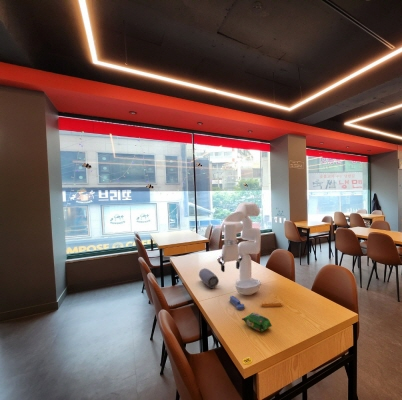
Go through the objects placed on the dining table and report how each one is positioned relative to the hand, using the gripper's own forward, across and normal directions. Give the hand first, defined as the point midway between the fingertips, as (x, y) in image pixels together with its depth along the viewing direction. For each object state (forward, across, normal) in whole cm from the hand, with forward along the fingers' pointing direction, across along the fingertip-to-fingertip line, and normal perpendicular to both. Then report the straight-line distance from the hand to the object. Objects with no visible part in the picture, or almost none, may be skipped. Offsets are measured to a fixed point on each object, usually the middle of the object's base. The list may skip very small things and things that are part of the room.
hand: (230, 270), depth 141 cm
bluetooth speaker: (+20, +1, -40) cm, 45 cm away
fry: (+21, -19, +18) cm, 33 cm away
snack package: (+22, -1, +32) cm, 39 cm away
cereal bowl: (+21, -16, -8) cm, 28 cm away
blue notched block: (+21, -2, +5) cm, 22 cm away
